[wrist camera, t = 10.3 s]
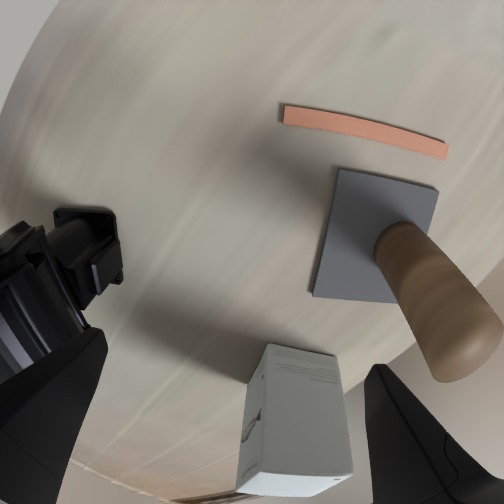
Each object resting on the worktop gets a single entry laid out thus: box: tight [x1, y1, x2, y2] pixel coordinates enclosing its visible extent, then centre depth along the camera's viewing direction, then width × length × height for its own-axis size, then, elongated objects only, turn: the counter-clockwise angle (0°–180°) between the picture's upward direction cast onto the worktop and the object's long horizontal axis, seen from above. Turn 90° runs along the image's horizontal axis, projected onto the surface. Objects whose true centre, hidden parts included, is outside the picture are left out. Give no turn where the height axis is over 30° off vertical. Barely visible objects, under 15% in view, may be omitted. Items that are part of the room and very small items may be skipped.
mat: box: [312, 169, 439, 304], centre depth 20 cm, size 8×10×1 cm
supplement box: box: [235, 343, 354, 497], centre depth 22 cm, size 7×7×13 cm
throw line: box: [283, 106, 449, 160], centre depth 17 cm, size 12×1×1 cm, turn 85°
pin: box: [374, 221, 504, 383], centre depth 15 cm, size 4×4×11 cm
